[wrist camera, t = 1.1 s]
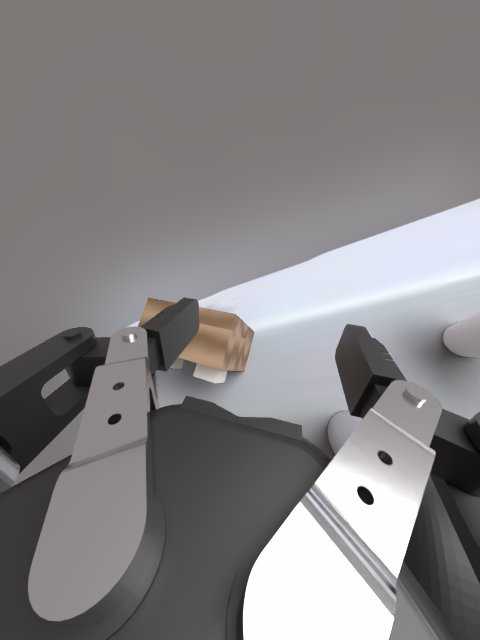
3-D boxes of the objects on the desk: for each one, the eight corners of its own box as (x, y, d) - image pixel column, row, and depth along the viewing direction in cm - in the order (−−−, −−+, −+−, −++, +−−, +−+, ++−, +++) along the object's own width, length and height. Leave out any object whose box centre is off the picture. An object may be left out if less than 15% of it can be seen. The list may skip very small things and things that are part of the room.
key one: (224, 383, 42) (214, 384, 37) (203, 377, 43) (192, 377, 39) (231, 357, 43) (223, 355, 38) (211, 352, 44) (200, 349, 40)
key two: (181, 369, 45) (168, 369, 41) (164, 364, 47) (149, 363, 42) (188, 346, 46) (176, 343, 42) (171, 341, 48) (158, 338, 43)
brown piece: (244, 371, 48) (220, 370, 33) (177, 351, 54) (131, 343, 39) (254, 331, 50) (235, 314, 35) (188, 317, 56) (148, 297, 41)
